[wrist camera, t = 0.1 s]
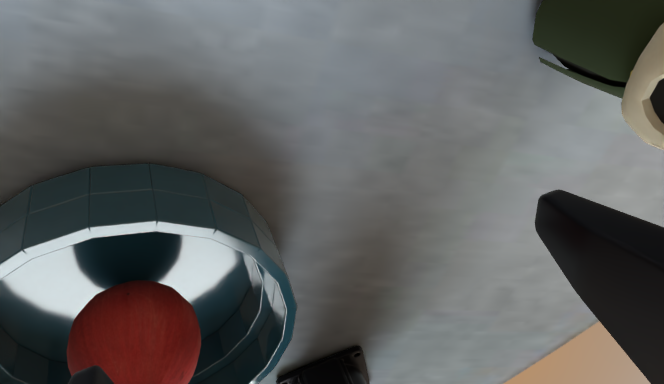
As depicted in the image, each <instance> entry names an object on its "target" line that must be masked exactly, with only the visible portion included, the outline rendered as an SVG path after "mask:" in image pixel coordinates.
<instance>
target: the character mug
mask: <svg viewBox="0 0 664 384" xmlns="http://www.w3.org/2000/svg"><path fill="white" fill-rule="evenodd" d="M532 40H533V42H534V44H535V45H536V46H538V47H540V48H542V49H544V50H546V51H548V52H550V53H552V54H553V55H554V56H555V57H556V58H557V59H558V60H559V61H560V62H561V63H562V64H563V65H564V66H565V67H567V68H569V69H564V68H562V67H560V66H557V65H555V64H553V63H551V62H549V61H547V60H544V59H542V58H540V57H539V58H540V61H541V62H542V63H544V64H546V65H548V66H549V67H551V68H553V69H555V70H557V71H559V72H561V73H563V74H565V75H567V76H569V77H571V78H574V79H576V80H578V81H580V82H582V83H584V84H587V85H589V86H592V87H594V88H597V89H599V90H602V91H604V92H607V93H609V94H612V95H614V96H617V97H619V98H622V103H621V106H622V115H623V117H624V119H625V121H626V123H627V124H628V125H629V126H630V127H631V128H632V129H633V130H634V131H635V132H636V134H637V135H638V136H639V137H640V138H641V139H642V140H643V141H644V142H645V143H647V144H649V145H652V146H654V147H657V148H659V149H662V150H664V0H543V1H542V3H541V5H540V7H539V9H538V11H537V13H536V18H535V25H534V32H533V38H532Z"/></svg>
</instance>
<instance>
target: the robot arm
mask: <svg viewBox="0 0 664 384" xmlns="http://www.w3.org/2000/svg"><path fill="white" fill-rule="evenodd" d="M535 228H536V231H537V233H538V235H539V237H540V238H541V240H542V241H543V243H544V244H545V246H546V247H547V249H548V250H549V252H550V253H551V255H552V256H553V258H554V259H555V261H556V263H557V264H558V266H559V267H560V269H561V270H562V272H563V273H564V275H565V276H566V278H567V279H568V281H569V282H570V284H571V285H572V287H573V288H574V290H575V291H576V292H577V294H578V295H579V296H580V298H581V299H582V300H583V301H584V303H585V304H586V305H587V306H588V308H589V309H590V310H591V311H592V312H593V314H594V315H595V316H596V317H597V318H598V320H599V321H600V322H601V323H602V325H603V326H604V327H605V328H606V329H607V331H608V332H609V333H610V334H611V336H612V337H613V338H614V339H615V340H616V342H617V343H618V344H619V345H620V346H621V348H622V349H623V350H624V351H625V352H626V354H627V355H628V356H629V357H630V359H631V360H632V361H633V362H634V363H635V365H636V366H637V367H638V368H639V370H640V371H641V372H642V373H643V374H644V376H646V378H647V379H648V381H649V382H650V383H651V384H664V227H661V226H658V225H656V224H653V223H650V222H647V221H645V220H642V219H639V218H637V217H634V216H631V215H628V214H626V213H623V212H620V211H618V210H615V209H612V208H609V207H607V206H604V205H601V204H598V203H596V202H593V201H590V200H588V199H585V198H582V197H579V196H577V195H574V194H571V193H569V192H566V191H563V190H554V191H551V192H549V193H546V194H544V195H542V196H540V198H539V200H538V206H537V212H536V219H535ZM276 383H277V384H369V379H368V374H367V369H366V364H365V359H364V354H363V351H362V349H361V347H360V346H355V347H352V348H350V349H347V350H345V351H342V352H340V353H337V354H335V355H332V356H330V357H328V358H325V359H323V360H320V361H318V362H315V363H313V364H310V365H308V366H305V367H303V368H301V369H298V370H296V371H293V372H291V373H288V374H286V375H283V376H281V377H279V378H278V379H277V381H276ZM68 384H114V383H113V381H112V380H111V379H110V378H109V377H108V375H107V374H106V373H105V372H104V371H103V369H102V368H101V367H100V366H97V365H94V366H91V367H88V368H86V369H83V370H81V371H78V372H76V373H75V374H74V375H73V376H72V377H71V379H70V381H69V383H68Z"/></svg>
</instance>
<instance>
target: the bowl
mask: <svg viewBox="0 0 664 384" xmlns="http://www.w3.org/2000/svg"><path fill="white" fill-rule="evenodd" d="M135 280H146V281H155V282H158V283H161V284H164V285H167V286H170V287H173V288H174V289H175V290H176V291H177V292H178V293H179V294H180V295H181V296H183V297H184V298H185V299H186V300H187V301H188V302H189V303H190V304H191V305H192V307H193V309H194V311H195V314H196V316H197V320H198V323H199V327H200V333H201V347H200V353H199V357H198V361H197V365H196V368H195V371H194V374H193V376H192V378H191V379H190V381H189V383H188V384H258V383H259V382H260V381H261V380H262V379H263V378H265V377H266V376H267V375H268V374H269V373H270V372H271V371H272V370H273V369H274V367H275V366H276V365H277V363H278V361H279V360H280V358H281V356H282V354H283V353H284V351H285V349H286V348H287V346H288V344H289V342H290V341H291V339H292V336H293V329H294V323H295V317H296V310H297V303H296V300H295V297H294V294H293V291H292V288H291V285H290V282H289V278H288V275H287V273H286V270H285V268H284V265H283V262H282V260H281V257H280V255H279V252H278V249H277V247H276V244H275V242H274V239H273V237H272V234H271V231H270V229H269V226H268V224H267V222H266V221H265V219H264V218H263V217H262V216H261V215H260V214H259V213H258V212H257V211H256V209H255V208H254V207H253V206H252V205H251V204H250V203H249V202H248V201H247V200H246V198H245V197H244V196H243V195H241V194H240V193H238V192H236V191H234V190H232V189H231V188H229V187H227V186H225V185H223V184H221V183H219V182H217V181H215V180H213V179H211V178H210V177H208V176H206V175H204V174H201V173H198V172H193V171H188V170H183V169H178V168H172V167H167V166H162V165H157V164H152V163H149V164H147V163H145V164H128V165H112V166H95V167H91V168H89V167H88V168H84V169H81V170H78V171H75V172H72V173H69V174H66V175H62V176H59V177H56V178H53V179H50V180H47V181H44V182H41V183H37V184H34V185H33V186H30V187H28V188H27V189H25V190H24V191H22V192H21V193H19V194H18V195H16V196H15V197H13V198H12V199H10V200H9V201H7V202H6V203H4V204H3V205H2V206H0V384H68V383H69V381H70V379H71V377H72V376H71V373H70V371H69V368H68V361H67V346H68V340H69V334H70V331H71V327H72V324H73V321H74V319H75V317H76V316H77V315H78V314H79V313H80V311H81V310H82V309H83V308H84V307H85V306H86V304H87V303H88V302H89V301H90V300H91V299H92V298H93V297H94V296H95V295H96V294H98V293H100V292H102V291H104V290H106V289H108V288H111V287H113V286H115V285H118V284H122V283H125V282H128V281H135Z"/></svg>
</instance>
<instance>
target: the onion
mask: <svg viewBox="0 0 664 384" xmlns="http://www.w3.org/2000/svg"><path fill="white" fill-rule="evenodd" d="M200 347H201V333H200V327H199V323H198V320H197V316H196V314H195V311H194V309H193V307H192V305H191V304H190V303H189V302H188V301H187V300H186V299H185V298H184V297H183V296H181V295H180V294H179V293H178V292H177V291H176V290H175V289H174V288H173V287H170V286H167V285H164V284H161V283H158V282H155V281H146V280H135V281H128V282H125V283H122V284H118V285H115V286H113V287H111V288H108V289H106V290H104V291H102V292H100V293H98V294H96V295H95V296H94V297H93V298H92V299H91V300H90V301H89V302H88V303H87V304H86V306H85V307H84V308H83V309H82V310H81V311H80V313H79V314H78V315H77V316H76V317H75V319H74V321H73V324H72V327H71V331H70V334H69V340H68V346H67V361H68V368H69V371H70V373H71V376H73V375H74V374H75V373H76V372H78V371H81V370H83V369H86V368H88V367H91V366H94V365H97V366H100V367H101V368H102V369H103V371H104V372H105V373H106V374H107V375H108V377H109V378H110V379H111V380H112V381H113V383H114V384H188V383H189V381H190V379H191V378H192V376H193V374H194V371H195V368H196V365H197V361H198V357H199V353H200Z"/></svg>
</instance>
